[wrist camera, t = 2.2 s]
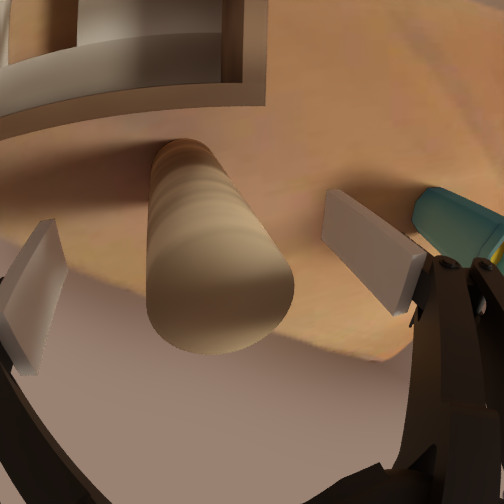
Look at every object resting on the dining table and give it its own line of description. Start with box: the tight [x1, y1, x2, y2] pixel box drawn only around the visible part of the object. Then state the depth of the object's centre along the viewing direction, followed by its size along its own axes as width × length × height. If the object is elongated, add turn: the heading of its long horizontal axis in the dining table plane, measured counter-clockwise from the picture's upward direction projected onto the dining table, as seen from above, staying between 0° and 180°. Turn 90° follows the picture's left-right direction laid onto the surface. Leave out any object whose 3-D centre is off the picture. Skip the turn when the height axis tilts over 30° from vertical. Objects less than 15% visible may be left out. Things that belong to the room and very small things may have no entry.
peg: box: [146, 139, 294, 355], centre depth 15 cm, size 4×4×14 cm
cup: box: [412, 187, 504, 276], centre depth 23 cm, size 14×8×15 cm, turn 113°
